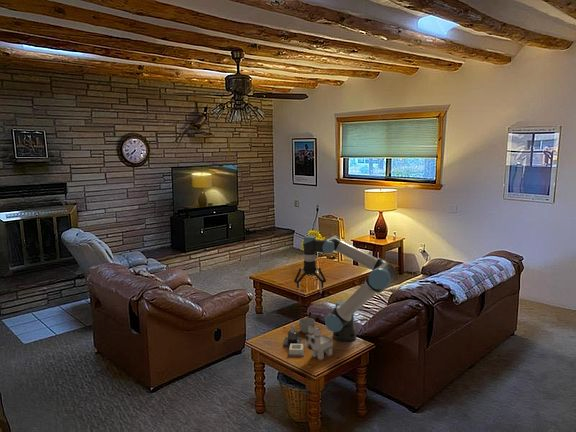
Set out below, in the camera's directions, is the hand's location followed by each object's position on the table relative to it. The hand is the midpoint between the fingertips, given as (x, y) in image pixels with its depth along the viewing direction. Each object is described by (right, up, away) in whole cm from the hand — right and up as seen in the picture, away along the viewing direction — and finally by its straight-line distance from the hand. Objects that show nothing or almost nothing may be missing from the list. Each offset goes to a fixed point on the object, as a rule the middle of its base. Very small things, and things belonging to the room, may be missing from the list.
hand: (310, 292), depth 272 cm
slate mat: (-9, -34, -13) cm, 37 cm away
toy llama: (+5, -35, -18) cm, 40 cm away
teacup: (-1, -29, +18) cm, 34 cm away
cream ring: (-9, -33, -13) cm, 37 cm away
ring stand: (-11, -32, 0) cm, 34 cm away
